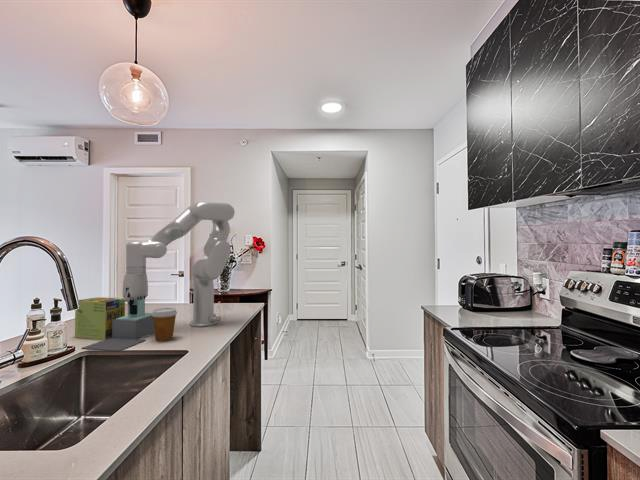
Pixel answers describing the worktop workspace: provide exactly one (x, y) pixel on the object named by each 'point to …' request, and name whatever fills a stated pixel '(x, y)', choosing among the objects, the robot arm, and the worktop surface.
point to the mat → (114, 344)
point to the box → (132, 328)
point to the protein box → (97, 317)
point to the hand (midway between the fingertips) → (136, 313)
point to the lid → (140, 312)
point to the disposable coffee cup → (164, 323)
